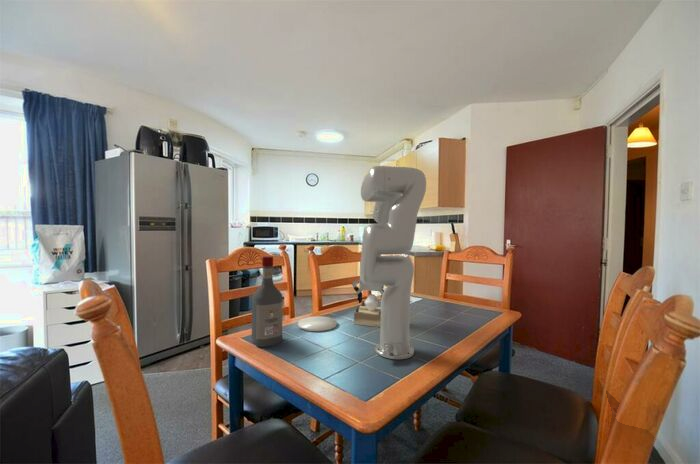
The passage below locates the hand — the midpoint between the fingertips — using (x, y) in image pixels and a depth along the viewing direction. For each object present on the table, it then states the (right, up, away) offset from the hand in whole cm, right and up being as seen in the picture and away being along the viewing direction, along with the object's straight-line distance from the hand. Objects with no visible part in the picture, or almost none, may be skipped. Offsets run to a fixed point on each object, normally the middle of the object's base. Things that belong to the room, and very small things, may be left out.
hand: (371, 303), depth 129 cm
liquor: (-38, -8, -24) cm, 46 cm away
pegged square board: (0, -8, 0) cm, 8 cm away
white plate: (-23, -8, -6) cm, 25 cm away
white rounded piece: (0, -3, -1) cm, 3 cm away
